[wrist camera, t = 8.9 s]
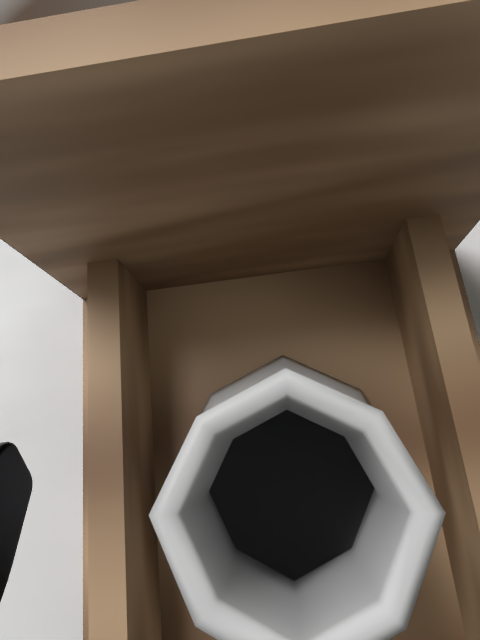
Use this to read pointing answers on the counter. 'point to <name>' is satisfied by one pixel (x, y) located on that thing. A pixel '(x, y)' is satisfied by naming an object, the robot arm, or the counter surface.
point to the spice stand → (252, 246)
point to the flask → (296, 512)
